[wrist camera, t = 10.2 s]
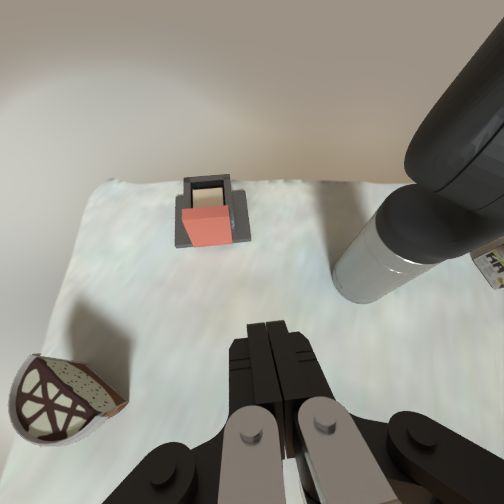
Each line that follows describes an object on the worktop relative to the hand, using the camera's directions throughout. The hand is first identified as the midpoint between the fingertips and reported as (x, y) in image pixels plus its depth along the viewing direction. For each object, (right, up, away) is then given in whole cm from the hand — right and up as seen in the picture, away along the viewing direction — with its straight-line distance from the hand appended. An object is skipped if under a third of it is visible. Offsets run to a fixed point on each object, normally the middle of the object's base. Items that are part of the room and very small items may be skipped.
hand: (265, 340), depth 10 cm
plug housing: (-8, +10, +40) cm, 42 cm away
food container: (-24, -18, +27) cm, 40 cm away
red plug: (-8, +9, +38) cm, 40 cm away
